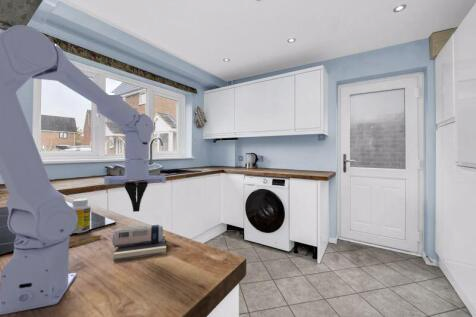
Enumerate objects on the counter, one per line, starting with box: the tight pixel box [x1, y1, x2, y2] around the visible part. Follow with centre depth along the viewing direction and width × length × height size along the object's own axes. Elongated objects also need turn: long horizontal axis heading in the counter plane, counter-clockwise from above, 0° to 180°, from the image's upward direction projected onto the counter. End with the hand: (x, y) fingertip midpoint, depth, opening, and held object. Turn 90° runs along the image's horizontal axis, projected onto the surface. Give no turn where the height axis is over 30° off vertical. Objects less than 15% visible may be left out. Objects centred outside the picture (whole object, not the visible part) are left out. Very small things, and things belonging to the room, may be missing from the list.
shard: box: [69, 235, 102, 248], centre depth 59 cm, size 11×8×2 cm
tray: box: [112, 233, 167, 262], centre depth 56 cm, size 10×12×2 cm
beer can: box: [112, 224, 164, 248], centre depth 58 cm, size 5×5×12 cm
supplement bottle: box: [70, 198, 92, 234], centre depth 69 cm, size 6×6×10 cm
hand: (136, 210), depth 57 cm, fingers closed
